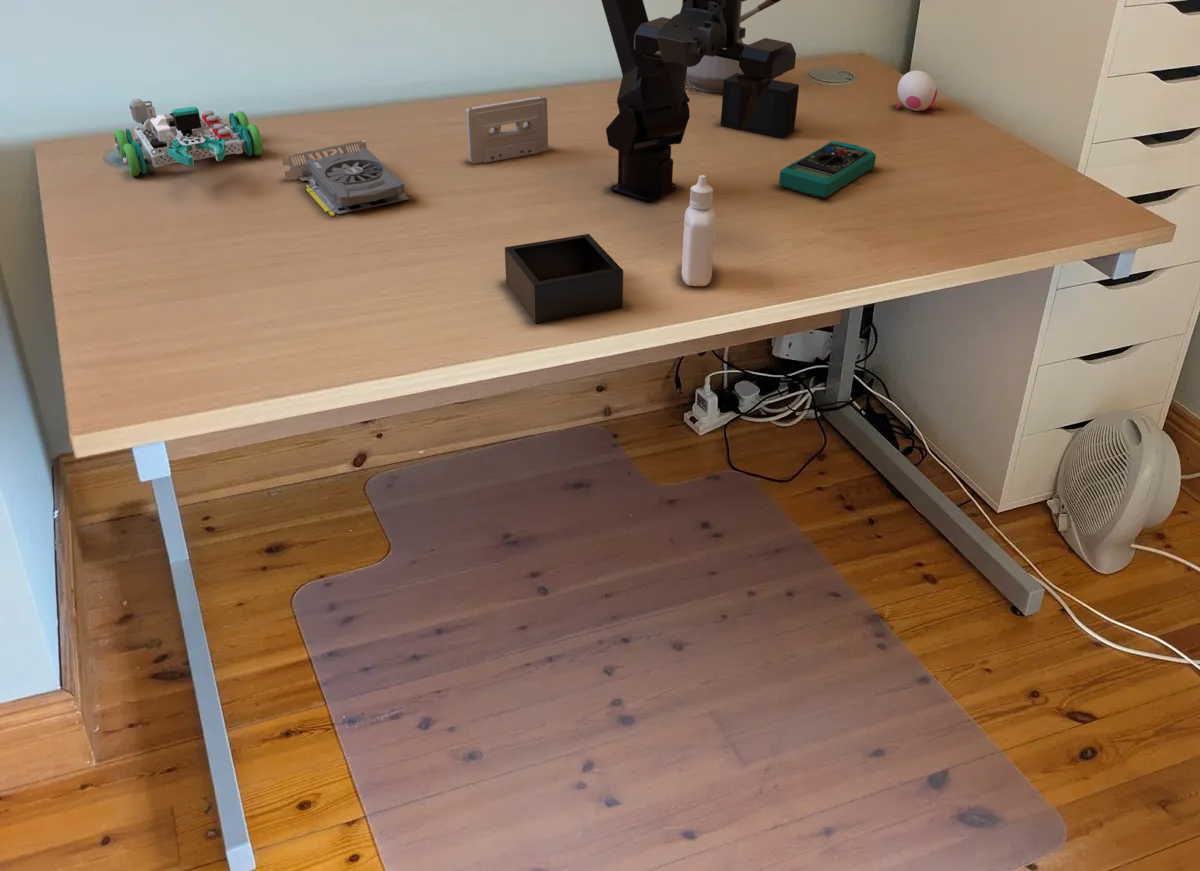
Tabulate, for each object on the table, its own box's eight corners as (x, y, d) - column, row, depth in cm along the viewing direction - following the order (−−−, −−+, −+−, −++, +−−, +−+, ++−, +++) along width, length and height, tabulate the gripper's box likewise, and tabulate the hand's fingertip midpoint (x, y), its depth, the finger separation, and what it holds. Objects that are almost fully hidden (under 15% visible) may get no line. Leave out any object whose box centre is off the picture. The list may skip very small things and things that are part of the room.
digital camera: (798, 128, 171) (803, 81, 167) (783, 138, 167) (788, 91, 163) (736, 115, 175) (740, 70, 171) (720, 125, 172) (723, 79, 168)
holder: (506, 283, 127) (504, 247, 125) (588, 269, 131) (588, 233, 128) (535, 324, 120) (534, 285, 117) (622, 307, 123) (623, 270, 120)
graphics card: (279, 153, 151) (365, 136, 156) (284, 180, 153) (368, 162, 158) (318, 198, 139) (410, 178, 144) (323, 226, 141) (413, 206, 146)
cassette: (472, 165, 157) (469, 111, 153) (467, 161, 158) (463, 107, 154) (550, 151, 162) (549, 98, 158) (544, 147, 163) (543, 94, 159)
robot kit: (148, 213, 143) (131, 141, 138) (112, 150, 161) (96, 84, 156) (293, 186, 151) (282, 116, 145) (243, 129, 169) (232, 65, 163)
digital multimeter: (876, 168, 157) (879, 148, 156) (825, 201, 148) (828, 180, 146) (829, 157, 161) (832, 136, 159) (776, 188, 151) (778, 167, 150)
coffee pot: (701, 100, 181) (707, 2, 173) (668, 80, 190) (672, -14, 181) (813, 84, 189) (824, -11, 180) (776, 65, 197) (785, -26, 189)
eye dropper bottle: (667, 281, 128) (672, 180, 122) (691, 263, 132) (696, 164, 125) (702, 291, 126) (708, 188, 120) (724, 272, 130) (732, 172, 124)
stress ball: (926, 137, 177) (958, 103, 174) (889, 107, 175) (920, 73, 172) (918, 119, 184) (948, 86, 180) (881, 90, 181) (911, 56, 178)
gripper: (605, -18, 125) (604, 121, 134) (750, 10, 116) (739, 157, 124) (664, -35, 132) (659, 98, 141) (805, -10, 123) (790, 131, 132)
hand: (708, 120), depth 134 cm, fingers open, 9 cm apart
